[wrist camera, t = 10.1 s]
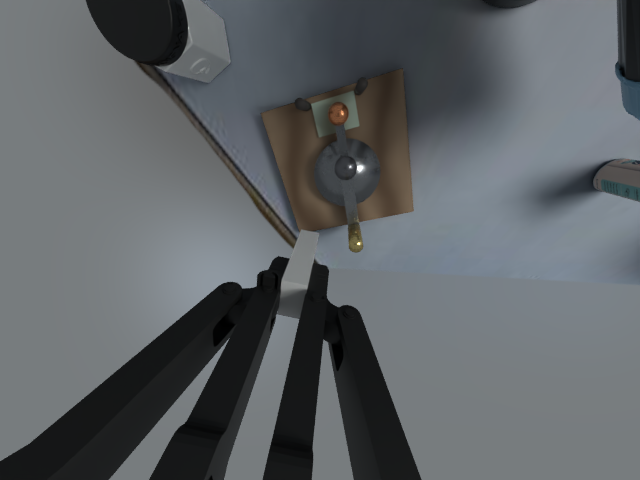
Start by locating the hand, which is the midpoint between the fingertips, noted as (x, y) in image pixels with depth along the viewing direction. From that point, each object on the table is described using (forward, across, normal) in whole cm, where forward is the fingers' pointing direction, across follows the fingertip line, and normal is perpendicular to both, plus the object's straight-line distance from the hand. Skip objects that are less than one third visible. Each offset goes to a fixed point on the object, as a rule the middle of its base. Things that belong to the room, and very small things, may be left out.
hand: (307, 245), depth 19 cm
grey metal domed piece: (+20, +3, +2) cm, 21 cm away
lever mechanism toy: (+22, +2, +3) cm, 22 cm away
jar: (+22, -20, +15) cm, 34 cm away
